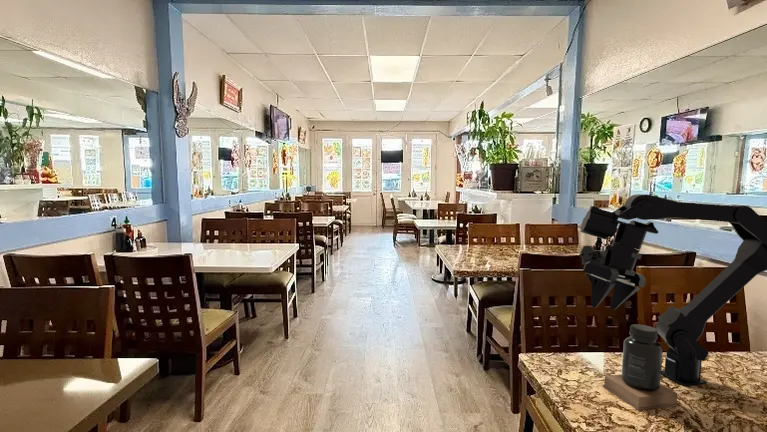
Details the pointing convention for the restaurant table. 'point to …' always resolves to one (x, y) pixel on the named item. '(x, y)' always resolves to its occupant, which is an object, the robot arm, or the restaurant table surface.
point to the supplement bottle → (642, 358)
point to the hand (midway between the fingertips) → (603, 308)
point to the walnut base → (640, 394)
